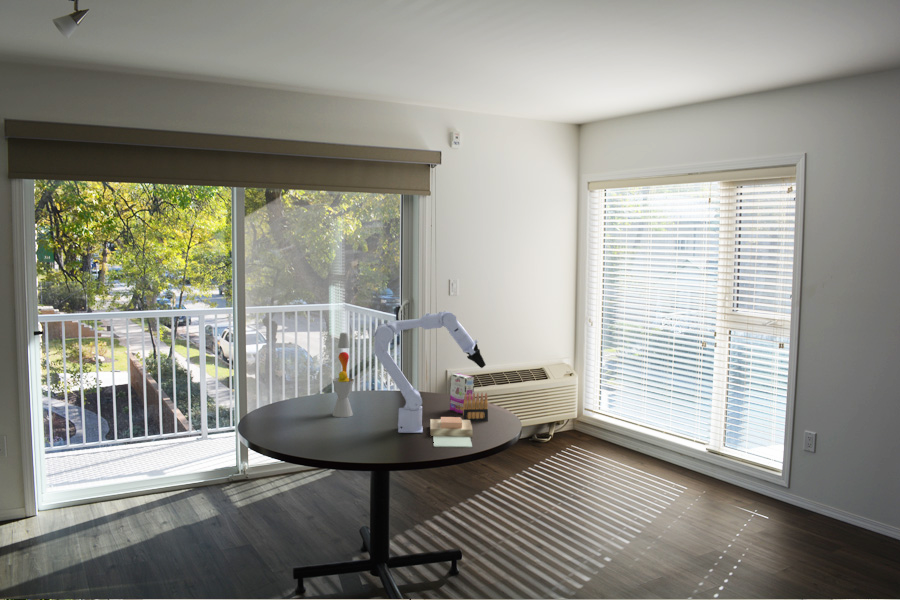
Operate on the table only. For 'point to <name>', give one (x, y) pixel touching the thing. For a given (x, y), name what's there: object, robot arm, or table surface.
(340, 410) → the lava lamp
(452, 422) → the peach flat block
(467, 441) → the mat
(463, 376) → the candy bar box
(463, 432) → the riser
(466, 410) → the ammunition clip
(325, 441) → the table surface
